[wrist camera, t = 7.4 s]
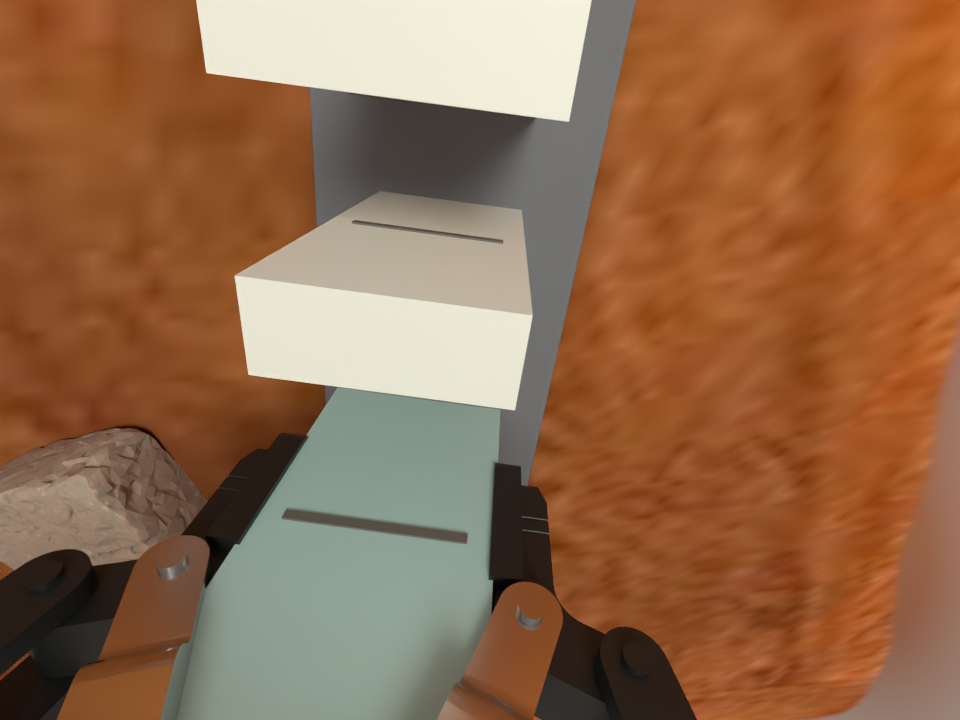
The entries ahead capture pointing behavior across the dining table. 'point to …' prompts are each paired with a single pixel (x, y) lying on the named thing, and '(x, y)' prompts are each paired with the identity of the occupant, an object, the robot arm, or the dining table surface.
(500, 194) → the runner
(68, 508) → the brick
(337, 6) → the tile
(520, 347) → the tile
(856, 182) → the dining table surface
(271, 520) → the teal tile
